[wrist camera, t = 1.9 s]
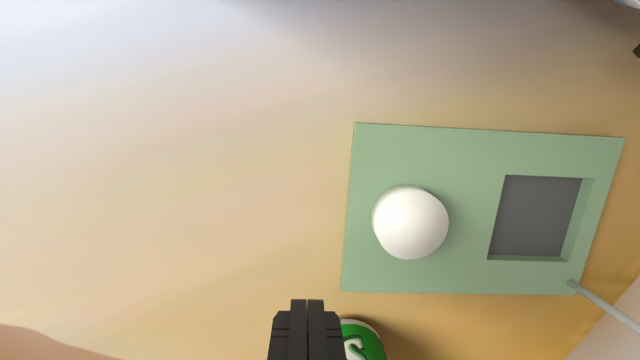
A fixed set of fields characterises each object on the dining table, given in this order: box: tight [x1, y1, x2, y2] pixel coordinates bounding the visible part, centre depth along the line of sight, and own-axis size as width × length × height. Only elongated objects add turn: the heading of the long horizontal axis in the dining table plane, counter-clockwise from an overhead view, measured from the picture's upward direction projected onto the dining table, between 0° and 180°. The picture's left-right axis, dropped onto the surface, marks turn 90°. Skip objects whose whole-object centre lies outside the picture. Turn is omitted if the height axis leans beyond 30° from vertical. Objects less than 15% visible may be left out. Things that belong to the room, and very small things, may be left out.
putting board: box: [340, 122, 640, 335], centre depth 23 cm, size 18×24×11 cm
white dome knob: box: [370, 184, 449, 260], centre depth 25 cm, size 6×6×2 cm
